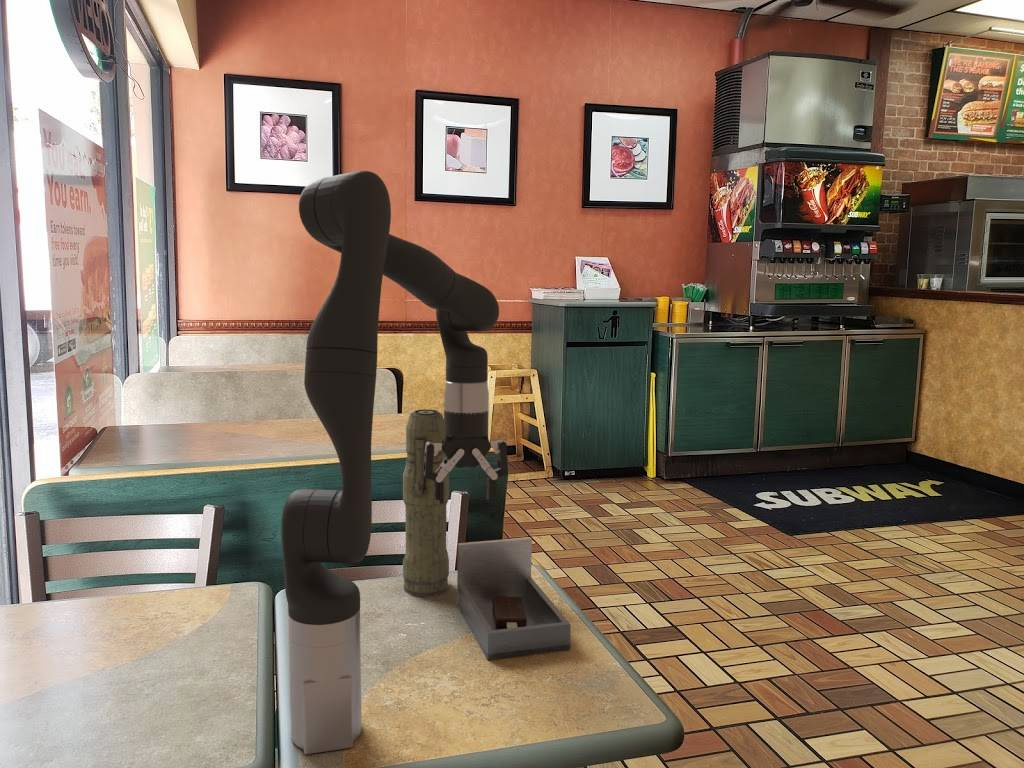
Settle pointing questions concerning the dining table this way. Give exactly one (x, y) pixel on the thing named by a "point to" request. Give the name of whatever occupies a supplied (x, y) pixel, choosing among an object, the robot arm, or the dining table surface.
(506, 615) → the ice cream bar
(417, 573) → the thermos
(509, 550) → the silver tray
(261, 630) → the dining table surface
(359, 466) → the robot arm
